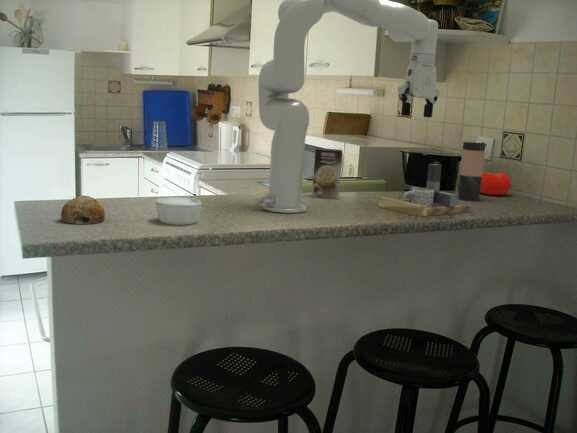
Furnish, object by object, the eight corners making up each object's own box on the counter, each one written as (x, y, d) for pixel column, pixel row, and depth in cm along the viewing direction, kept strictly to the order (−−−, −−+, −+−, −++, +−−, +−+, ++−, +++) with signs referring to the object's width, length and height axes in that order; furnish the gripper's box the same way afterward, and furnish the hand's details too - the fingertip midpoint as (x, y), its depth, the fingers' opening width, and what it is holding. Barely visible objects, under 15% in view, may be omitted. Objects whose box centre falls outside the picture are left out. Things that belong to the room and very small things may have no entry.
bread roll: (62, 238, 148) (63, 211, 144) (59, 213, 156) (59, 186, 152) (105, 237, 152) (107, 210, 148) (100, 212, 160) (102, 186, 156)
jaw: (449, 206, 190) (453, 167, 188) (408, 197, 204) (411, 161, 202) (456, 206, 192) (460, 167, 190) (414, 197, 205) (418, 161, 203)
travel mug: (482, 199, 225) (488, 143, 221) (476, 202, 219) (482, 144, 215) (461, 197, 229) (466, 141, 225) (454, 199, 223) (460, 142, 219)
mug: (425, 208, 199) (427, 187, 198) (436, 212, 193) (438, 190, 192) (397, 208, 196) (398, 187, 195) (406, 212, 190) (408, 190, 189)
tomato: (504, 193, 246) (507, 171, 244) (512, 198, 234) (515, 175, 232) (471, 191, 247) (474, 169, 246) (477, 195, 235) (479, 173, 234)
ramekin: (208, 224, 156) (208, 203, 155) (165, 227, 150) (166, 205, 149) (189, 216, 165) (190, 196, 164) (148, 218, 159) (149, 198, 158)
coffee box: (311, 197, 209) (314, 148, 206) (312, 194, 215) (315, 147, 212) (338, 199, 208) (342, 150, 205) (339, 196, 214) (342, 149, 211)
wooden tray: (418, 216, 183) (419, 206, 182) (378, 206, 197) (379, 197, 196) (472, 211, 197) (473, 202, 196) (431, 203, 210) (431, 194, 210)
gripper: (410, 58, 188) (404, 115, 191) (450, 63, 198) (444, 118, 201) (393, 58, 194) (388, 114, 197) (432, 63, 204) (427, 117, 207)
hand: (416, 116), depth 199 cm, fingers open, 9 cm apart
